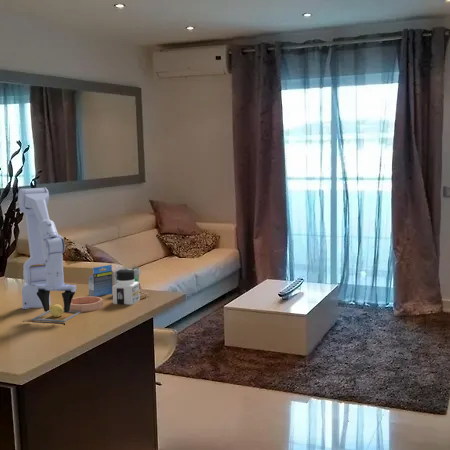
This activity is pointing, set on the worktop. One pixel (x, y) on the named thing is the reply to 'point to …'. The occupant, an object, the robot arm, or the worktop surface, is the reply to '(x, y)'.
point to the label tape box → (100, 281)
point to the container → (126, 288)
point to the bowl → (86, 303)
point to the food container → (136, 274)
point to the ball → (56, 310)
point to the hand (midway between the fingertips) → (56, 311)
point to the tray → (54, 320)
